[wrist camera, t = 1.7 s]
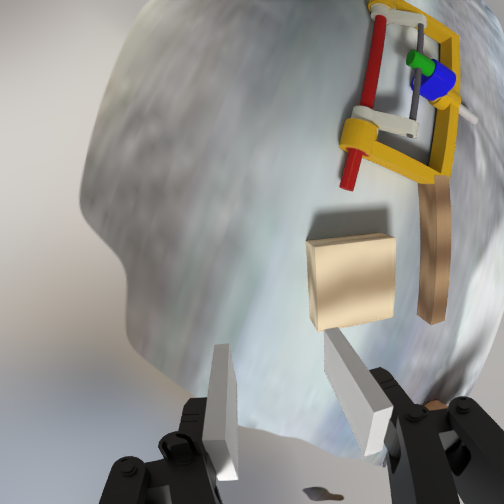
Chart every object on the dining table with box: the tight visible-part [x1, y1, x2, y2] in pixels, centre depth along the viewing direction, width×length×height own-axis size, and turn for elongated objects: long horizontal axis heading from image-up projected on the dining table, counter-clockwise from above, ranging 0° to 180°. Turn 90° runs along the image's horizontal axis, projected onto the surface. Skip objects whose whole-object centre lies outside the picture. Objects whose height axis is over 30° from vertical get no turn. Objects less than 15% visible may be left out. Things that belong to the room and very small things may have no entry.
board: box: [417, 176, 451, 325], centre depth 29 cm, size 18×2×4 cm, turn 7°
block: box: [306, 233, 396, 332], centre depth 29 cm, size 9×9×4 cm
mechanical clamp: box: [339, 0, 478, 191], centre depth 24 cm, size 18×6×30 cm
